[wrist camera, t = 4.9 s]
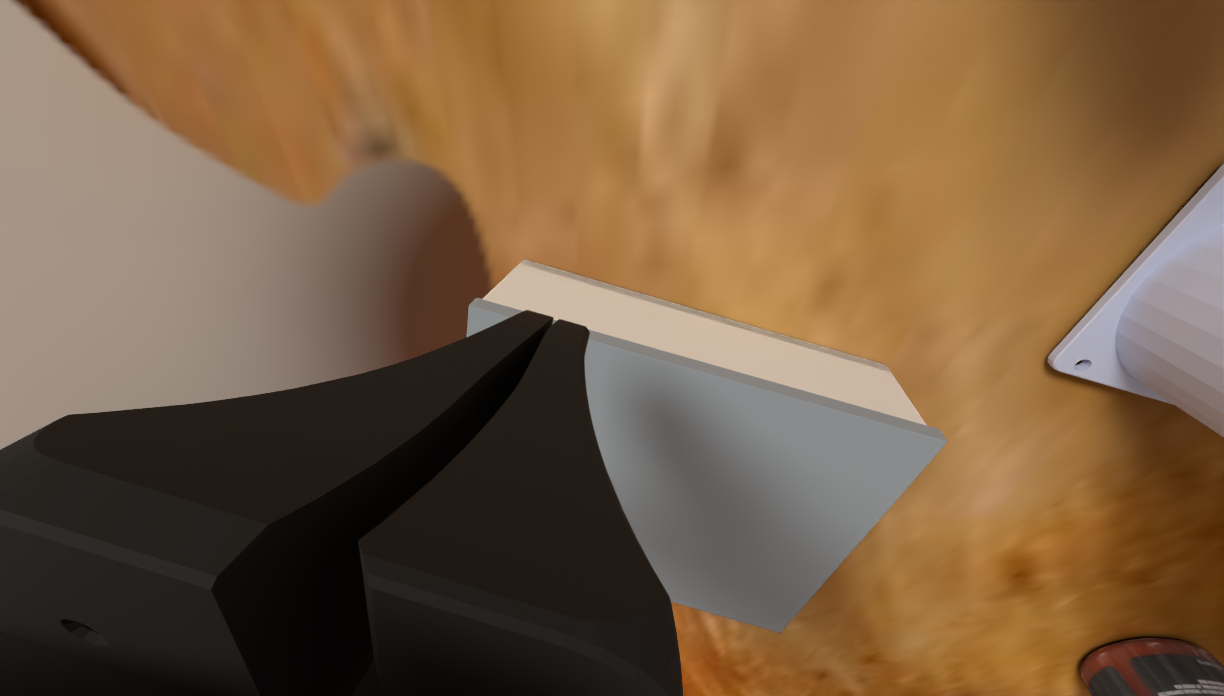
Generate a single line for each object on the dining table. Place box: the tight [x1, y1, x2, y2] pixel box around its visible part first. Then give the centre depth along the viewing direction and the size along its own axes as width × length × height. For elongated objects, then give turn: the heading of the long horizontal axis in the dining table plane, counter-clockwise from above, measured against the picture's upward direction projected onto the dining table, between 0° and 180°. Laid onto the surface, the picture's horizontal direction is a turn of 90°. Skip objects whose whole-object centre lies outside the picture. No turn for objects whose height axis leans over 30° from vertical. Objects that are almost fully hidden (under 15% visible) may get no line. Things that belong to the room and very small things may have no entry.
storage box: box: [483, 259, 927, 426], centre depth 20 cm, size 16×12×4 cm
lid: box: [467, 298, 948, 633], centre depth 18 cm, size 16×13×1 cm
